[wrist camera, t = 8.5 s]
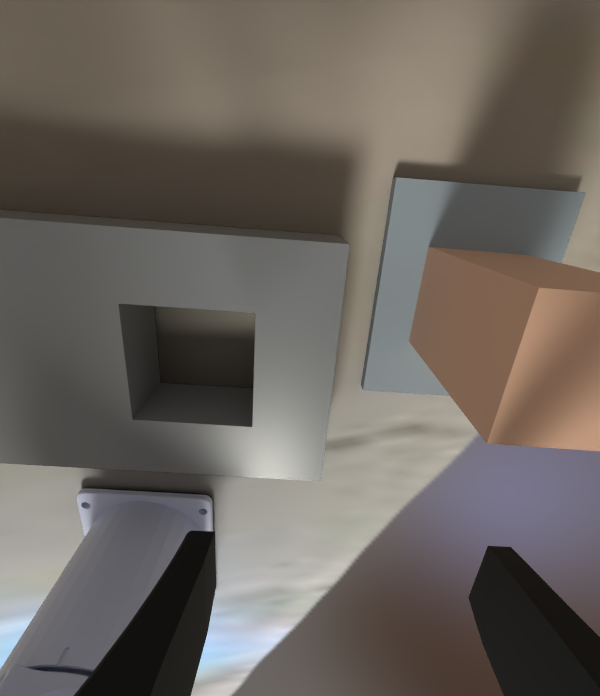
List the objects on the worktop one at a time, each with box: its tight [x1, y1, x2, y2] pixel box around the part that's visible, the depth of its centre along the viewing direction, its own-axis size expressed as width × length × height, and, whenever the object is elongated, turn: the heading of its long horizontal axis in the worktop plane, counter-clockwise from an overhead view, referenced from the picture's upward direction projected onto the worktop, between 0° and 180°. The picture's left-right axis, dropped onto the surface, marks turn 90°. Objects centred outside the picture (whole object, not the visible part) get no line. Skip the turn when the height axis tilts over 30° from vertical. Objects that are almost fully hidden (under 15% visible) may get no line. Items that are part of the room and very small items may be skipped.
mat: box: [361, 177, 585, 396], centre depth 17 cm, size 10×8×1 cm
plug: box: [409, 247, 600, 451], centre depth 13 cm, size 4×4×8 cm
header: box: [0, 210, 350, 481], centre depth 17 cm, size 11×16×4 cm
